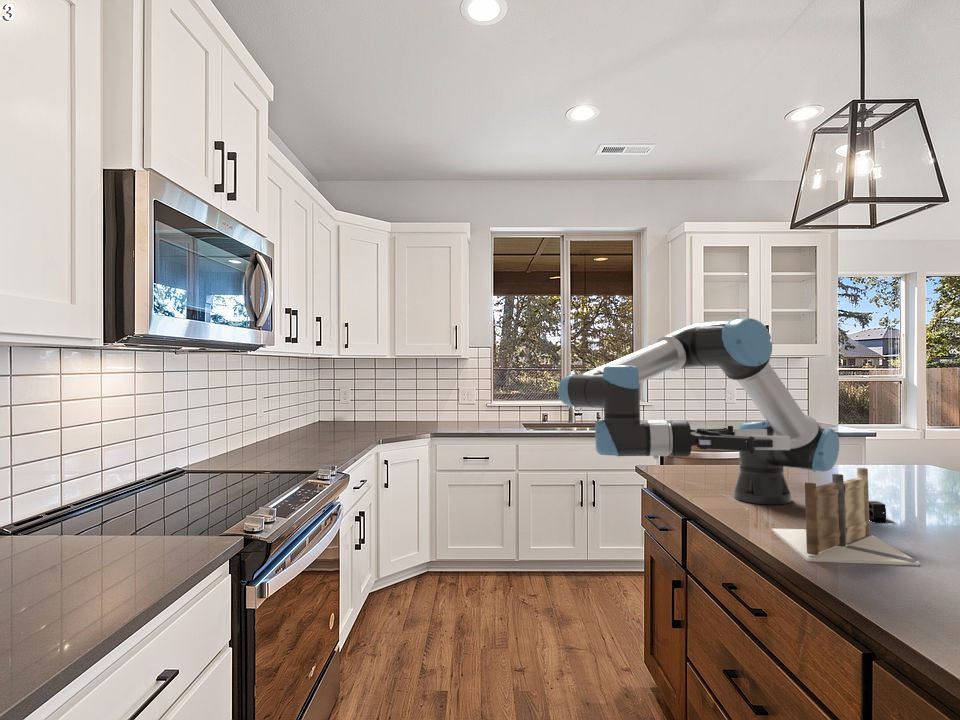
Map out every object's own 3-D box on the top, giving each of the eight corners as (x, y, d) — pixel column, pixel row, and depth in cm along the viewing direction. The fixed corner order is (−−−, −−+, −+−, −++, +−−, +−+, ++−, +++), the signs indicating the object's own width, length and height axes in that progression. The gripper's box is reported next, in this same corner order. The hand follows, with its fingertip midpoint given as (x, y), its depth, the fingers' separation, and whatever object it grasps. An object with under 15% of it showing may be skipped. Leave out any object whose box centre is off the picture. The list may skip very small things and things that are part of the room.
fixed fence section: (843, 547, 120) (840, 475, 121) (832, 544, 122) (830, 474, 122) (871, 535, 128) (869, 468, 129) (861, 533, 130) (859, 467, 130)
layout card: (771, 530, 135) (771, 528, 135) (865, 533, 132) (865, 530, 132) (807, 561, 113) (807, 558, 113) (921, 566, 110) (921, 562, 110)
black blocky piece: (849, 514, 151) (848, 497, 152) (879, 515, 150) (879, 497, 150) (873, 526, 139) (872, 507, 139) (906, 527, 138) (905, 508, 138)
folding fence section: (831, 542, 122) (829, 476, 122) (841, 544, 120) (839, 478, 120) (804, 552, 115) (802, 483, 115) (815, 555, 113) (813, 484, 114)
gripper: (661, 448, 133) (758, 449, 129) (680, 465, 108) (800, 467, 104) (660, 416, 133) (757, 416, 129) (679, 426, 108) (799, 426, 105)
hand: (777, 438), depth 117 cm, fingers open, 13 cm apart
